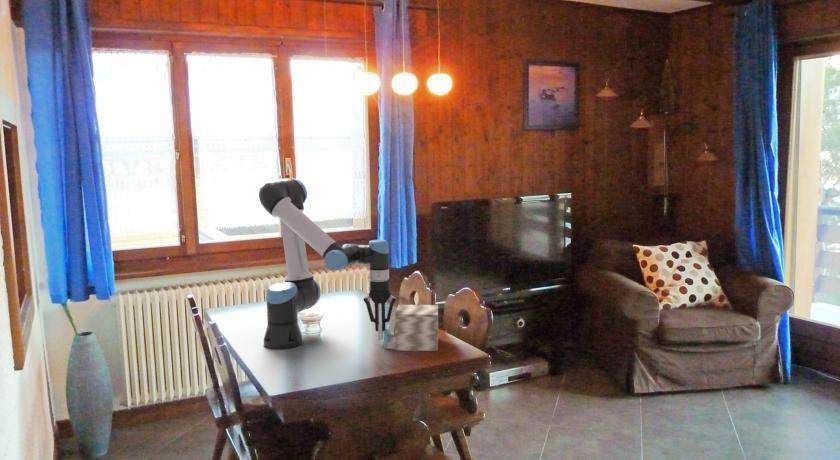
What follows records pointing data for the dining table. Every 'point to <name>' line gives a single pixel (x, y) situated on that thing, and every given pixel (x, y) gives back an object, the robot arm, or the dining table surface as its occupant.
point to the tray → (389, 339)
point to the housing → (416, 327)
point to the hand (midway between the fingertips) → (380, 339)
